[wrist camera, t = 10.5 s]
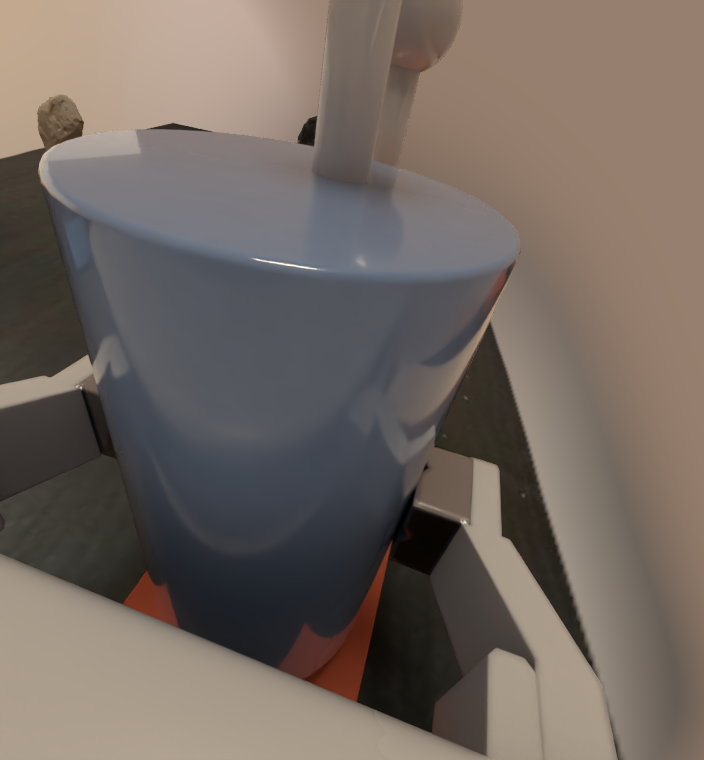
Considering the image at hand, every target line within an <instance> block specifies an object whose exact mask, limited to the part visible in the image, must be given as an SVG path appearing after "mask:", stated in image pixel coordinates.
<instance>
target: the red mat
mask: <svg viewBox="0 0 704 760" xmlns="http://www.w3.org/2000/svg"><path fill="white" fill-rule="evenodd" d="M391 543H392V541H391ZM390 548H391V544H390V546H389V548H388V550H387V552H386V555H385V557H384V559H383V561H382V564H381V566H380V568H379V570H378V573H377V575H376V577H375V579H374V582H373V584H372V586H371V588H370V591H369V593H368V595H367V597H366V599H365V602H364V604H363V606H362V608H361V611H360V613H359V615H358V617H357V620H356V622H355V624H354V626H353V628H352V630H351V632H350V634H349V636H348V637H347V639H346V640H345V642H344V643H343V645H342V646H341V647H340V649H339V650H338V651H337V652H336V653H335V655H334V656H333V657H332V658H331V659H330V660H328V661H327V662H326V663H325V664H324V665H323V666H322V667H321V668H319V669H318V670H316V671H315V672H313V673H312V674H311V675H309V676H307V677H305V678H303V679H302V680H305V681H307V682H310V683H312V684H314V685H317V686H319V687H322V688H324V689H326V690H329V691H331V692H334V693H336V694H338V695H341V696H343V697H345V698H348V699H350V700H353V701H355V702H357V699H358V694H359V689H360V685H361V680H362V676H363V671H364V667H365V662H366V657H367V653H368V648H369V644H370V639H371V635H372V630H373V625H374V621H375V616H376V612H377V607H378V603H379V598H380V593H381V589H382V584H383V580H384V575H385V570H386V566H387V561H388V557H389V552H390ZM122 605H125V606H127V607H130V608H132V609H134V610H137V611H139V612H142V613H144V614H146V615H149V616H151V617H154V618H156V619H158V620H161V618H160V614H159V611H158V607H157V603H156V600H155V596H154V592H153V589H152V585H151V581H150V578H149V574H148V571H146V573H145V574H144V575H143V577H142V578H141V579H140V581H139V582H138V584H137V585H136V586H135V588H134V589H133V590H132V592H131V593H130V595H129V596H128V597H127V599H126V600H125V601H124V603H123V604H122Z"/></svg>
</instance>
